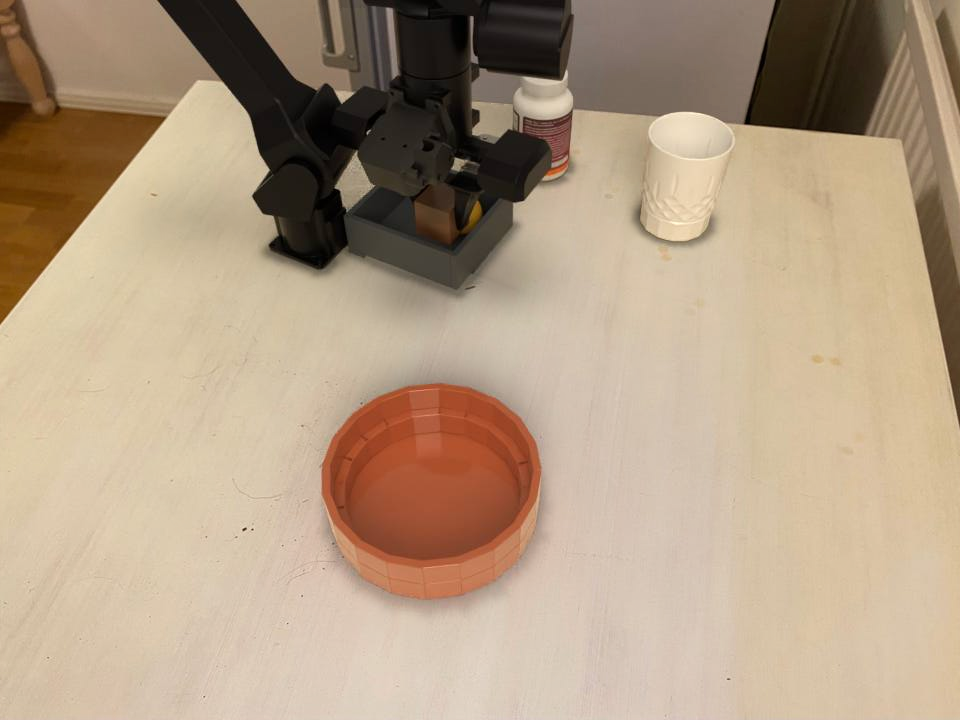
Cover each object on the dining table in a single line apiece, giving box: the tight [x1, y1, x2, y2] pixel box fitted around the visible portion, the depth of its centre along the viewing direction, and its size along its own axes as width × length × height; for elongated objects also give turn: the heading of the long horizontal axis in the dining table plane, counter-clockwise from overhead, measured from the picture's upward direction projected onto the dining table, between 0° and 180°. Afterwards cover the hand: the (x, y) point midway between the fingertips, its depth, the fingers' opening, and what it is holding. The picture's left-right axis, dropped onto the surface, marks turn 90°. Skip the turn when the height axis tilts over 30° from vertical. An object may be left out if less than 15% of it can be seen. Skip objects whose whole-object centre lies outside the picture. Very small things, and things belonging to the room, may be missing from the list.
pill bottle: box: [511, 68, 574, 182], centre depth 84 cm, size 6×6×11 cm
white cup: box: [639, 111, 736, 242], centre depth 78 cm, size 8×8×10 cm
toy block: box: [414, 183, 470, 245], centre depth 73 cm, size 4×4×4 cm
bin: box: [343, 168, 514, 291], centre depth 79 cm, size 12×11×4 cm
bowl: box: [321, 382, 543, 601], centre depth 58 cm, size 15×15×5 cm
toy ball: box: [460, 200, 482, 234], centre depth 79 cm, size 4×4×4 cm
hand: (442, 221), depth 74 cm, fingers closed on toy block, 3 cm apart
